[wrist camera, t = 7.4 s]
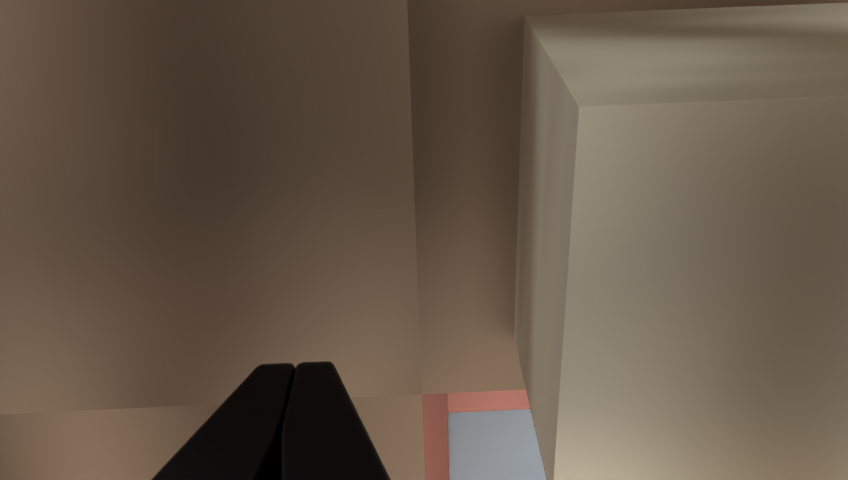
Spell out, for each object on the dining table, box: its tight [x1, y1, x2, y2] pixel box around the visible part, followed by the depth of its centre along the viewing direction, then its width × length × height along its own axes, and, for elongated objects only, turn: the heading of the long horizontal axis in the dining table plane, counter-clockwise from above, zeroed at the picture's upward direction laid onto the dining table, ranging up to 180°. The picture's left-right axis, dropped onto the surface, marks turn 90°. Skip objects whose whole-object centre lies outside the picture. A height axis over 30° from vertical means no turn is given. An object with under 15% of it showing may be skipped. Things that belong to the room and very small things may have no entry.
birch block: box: [514, 3, 848, 480], centre depth 12 cm, size 6×6×4 cm
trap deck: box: [0, 0, 848, 480], centre depth 14 cm, size 18×26×2 cm
